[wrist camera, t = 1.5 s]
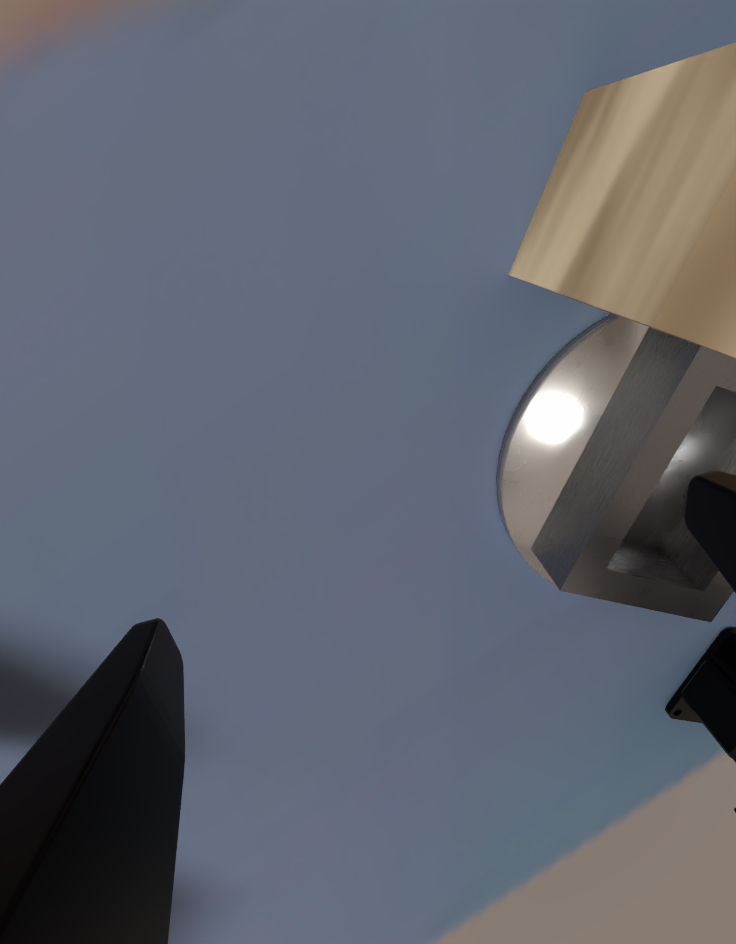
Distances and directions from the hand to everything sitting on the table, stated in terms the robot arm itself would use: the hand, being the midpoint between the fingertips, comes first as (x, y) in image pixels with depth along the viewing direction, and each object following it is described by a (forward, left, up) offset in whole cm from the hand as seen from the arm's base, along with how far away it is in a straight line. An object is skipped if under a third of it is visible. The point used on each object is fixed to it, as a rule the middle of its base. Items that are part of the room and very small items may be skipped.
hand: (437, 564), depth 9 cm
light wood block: (-7, -8, -13) cm, 17 cm away
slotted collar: (-15, 0, -13) cm, 20 cm away
